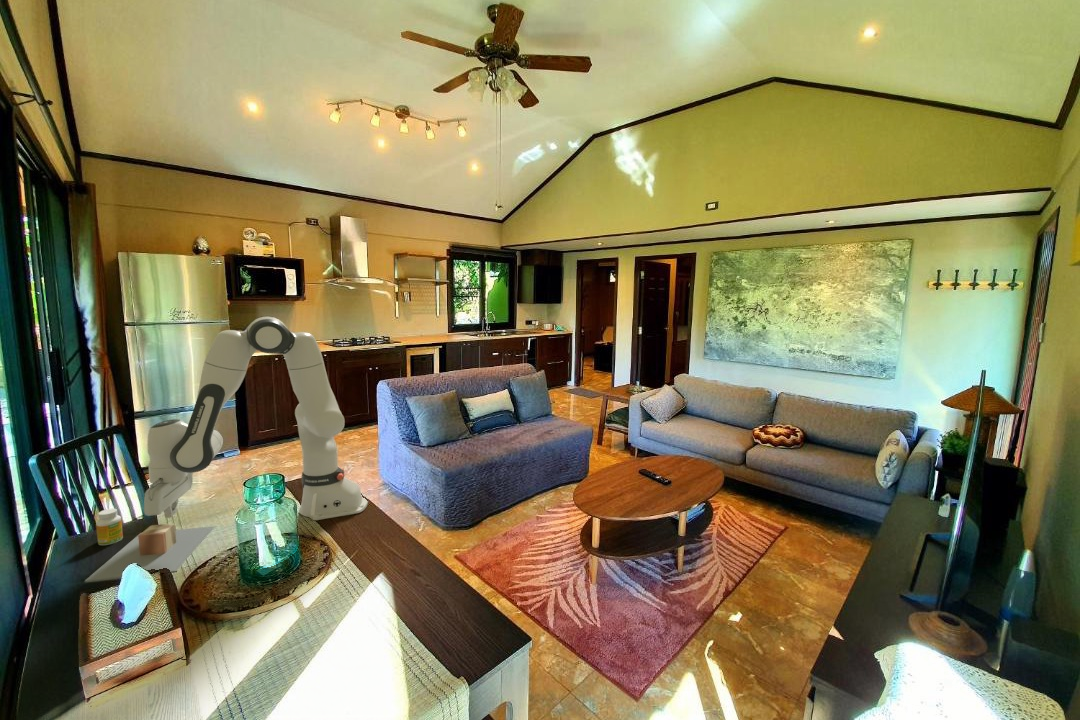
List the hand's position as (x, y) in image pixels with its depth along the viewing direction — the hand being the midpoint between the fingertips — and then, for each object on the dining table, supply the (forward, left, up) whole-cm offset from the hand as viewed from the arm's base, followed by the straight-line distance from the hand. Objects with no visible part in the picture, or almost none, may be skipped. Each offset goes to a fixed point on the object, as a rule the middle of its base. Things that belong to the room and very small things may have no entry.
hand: (170, 515), depth 135 cm
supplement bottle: (+16, 0, -7) cm, 17 cm away
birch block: (0, +5, -3) cm, 6 cm away
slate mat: (0, +9, -7) cm, 11 cm away
